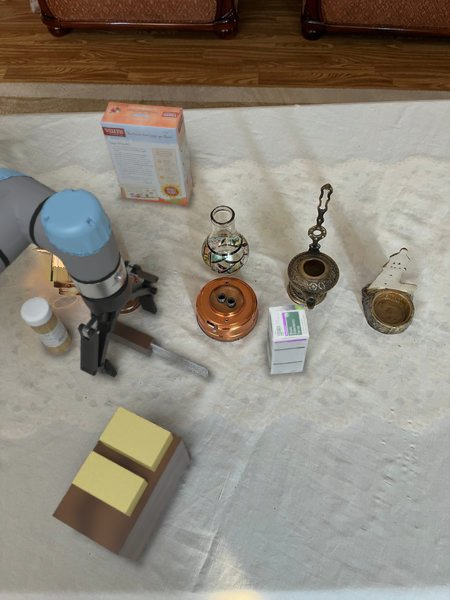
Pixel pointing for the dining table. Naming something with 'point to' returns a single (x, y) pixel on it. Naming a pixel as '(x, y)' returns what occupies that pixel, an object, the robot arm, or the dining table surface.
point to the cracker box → (149, 152)
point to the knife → (150, 346)
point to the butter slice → (110, 483)
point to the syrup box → (287, 338)
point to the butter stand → (113, 523)
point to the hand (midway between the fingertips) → (130, 341)
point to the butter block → (136, 438)
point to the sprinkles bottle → (46, 324)
